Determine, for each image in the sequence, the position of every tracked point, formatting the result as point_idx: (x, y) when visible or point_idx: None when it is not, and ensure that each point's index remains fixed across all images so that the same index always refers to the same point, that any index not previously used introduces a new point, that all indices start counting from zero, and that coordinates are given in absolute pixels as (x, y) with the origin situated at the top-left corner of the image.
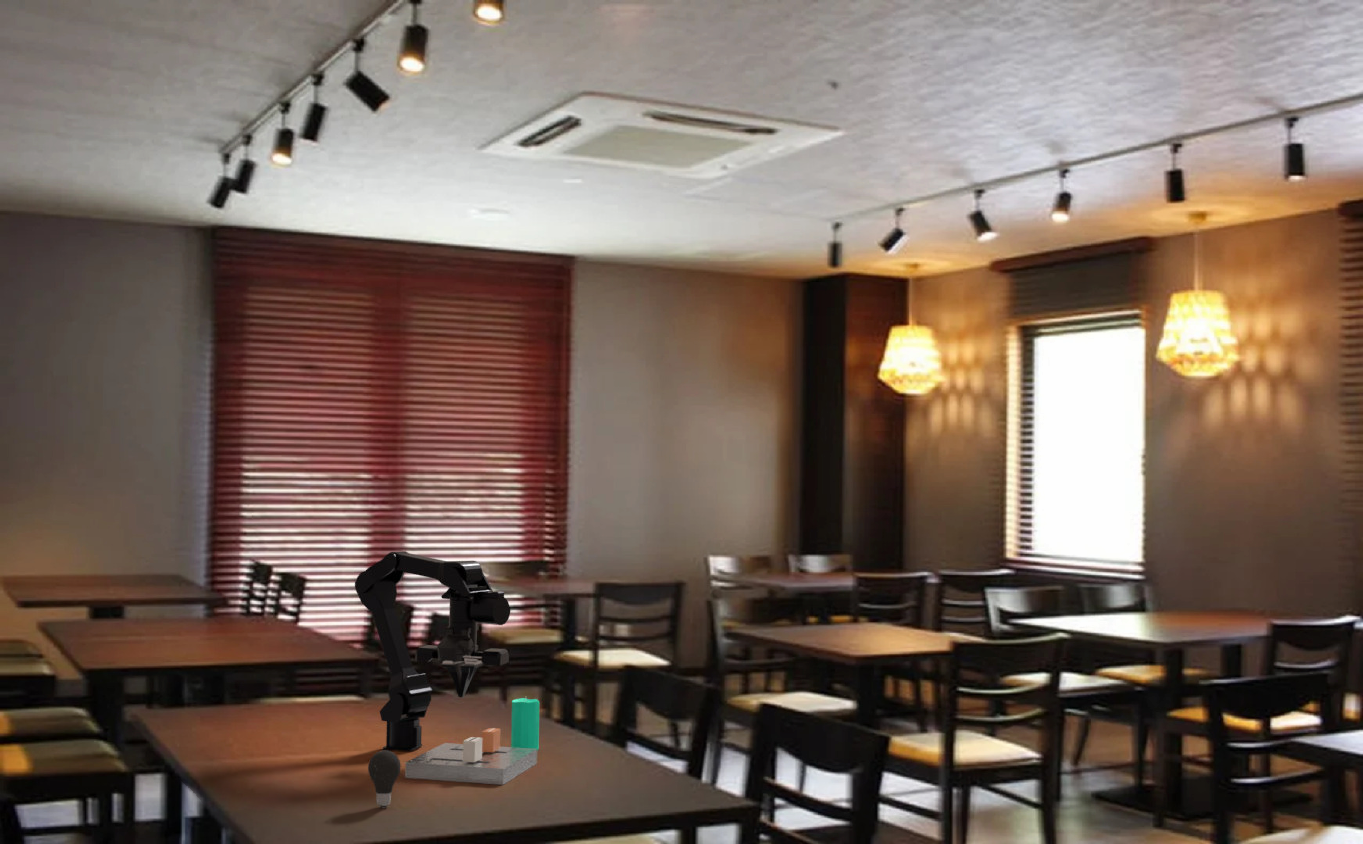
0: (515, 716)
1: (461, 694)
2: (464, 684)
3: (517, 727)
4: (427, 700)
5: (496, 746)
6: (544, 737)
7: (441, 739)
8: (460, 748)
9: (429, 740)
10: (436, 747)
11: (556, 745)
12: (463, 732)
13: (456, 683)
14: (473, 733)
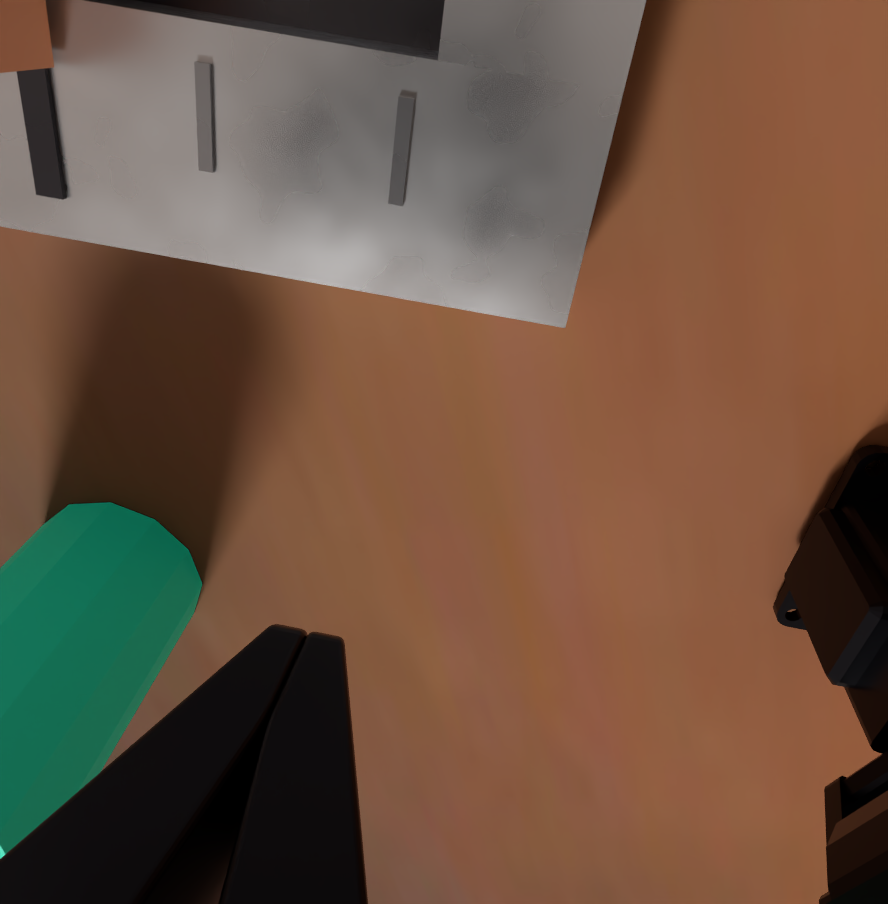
0: (12, 694)
1: (265, 659)
2: (67, 822)
3: (44, 621)
4: (869, 887)
5: None
6: None
7: (663, 769)
8: (349, 62)
9: (732, 750)
10: (618, 76)
11: None
12: (568, 883)
13: (289, 881)
14: (514, 867)
